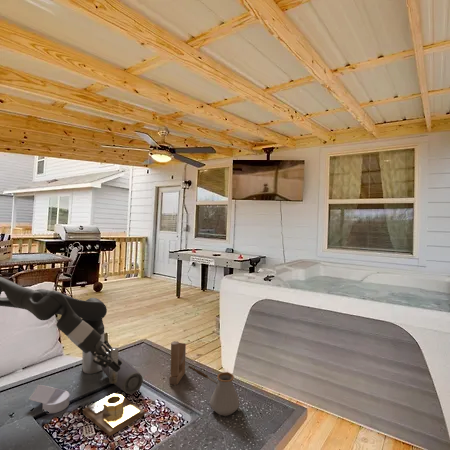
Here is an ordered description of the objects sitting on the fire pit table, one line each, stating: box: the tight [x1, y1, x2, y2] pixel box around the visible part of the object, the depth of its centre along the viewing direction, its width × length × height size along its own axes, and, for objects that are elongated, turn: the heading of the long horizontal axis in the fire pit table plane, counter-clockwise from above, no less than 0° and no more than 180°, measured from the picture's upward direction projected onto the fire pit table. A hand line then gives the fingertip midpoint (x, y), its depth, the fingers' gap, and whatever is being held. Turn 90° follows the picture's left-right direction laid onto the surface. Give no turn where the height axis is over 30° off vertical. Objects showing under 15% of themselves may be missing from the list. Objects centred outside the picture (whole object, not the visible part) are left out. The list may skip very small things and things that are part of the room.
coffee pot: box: [186, 365, 240, 417], centre depth 119 cm, size 21×12×15 cm, turn 77°
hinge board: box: [82, 392, 145, 437], centre depth 114 cm, size 18×14×2 cm
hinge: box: [86, 392, 140, 429], centre depth 114 cm, size 17×11×4 cm, turn 52°
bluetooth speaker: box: [101, 355, 144, 395], centre depth 133 cm, size 23×9×10 cm, turn 44°
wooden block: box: [168, 340, 187, 386], centre depth 139 cm, size 4×11×18 cm, turn 168°
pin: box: [108, 347, 119, 385], centre depth 113 cm, size 3×3×12 cm
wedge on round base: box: [28, 384, 70, 414], centre depth 118 cm, size 9×7×13 cm
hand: (119, 367), depth 113 cm, fingers closed on pin, 3 cm apart
